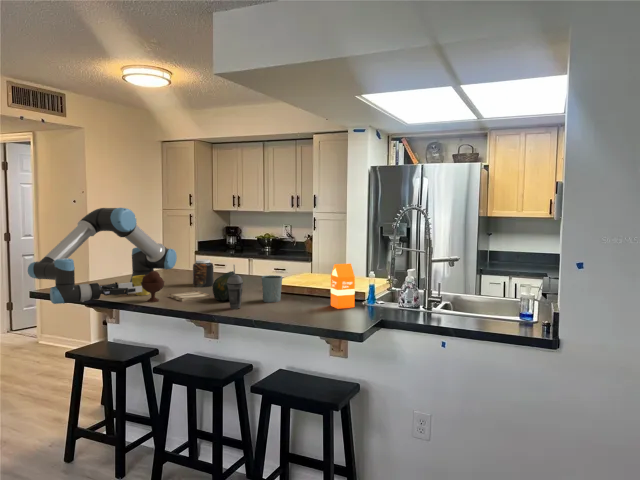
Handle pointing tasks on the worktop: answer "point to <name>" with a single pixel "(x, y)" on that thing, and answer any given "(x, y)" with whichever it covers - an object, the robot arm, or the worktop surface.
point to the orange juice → (342, 286)
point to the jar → (203, 273)
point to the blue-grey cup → (271, 288)
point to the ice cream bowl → (152, 284)
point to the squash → (222, 287)
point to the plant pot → (137, 282)
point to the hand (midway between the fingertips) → (136, 286)
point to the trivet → (190, 296)
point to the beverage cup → (235, 290)
